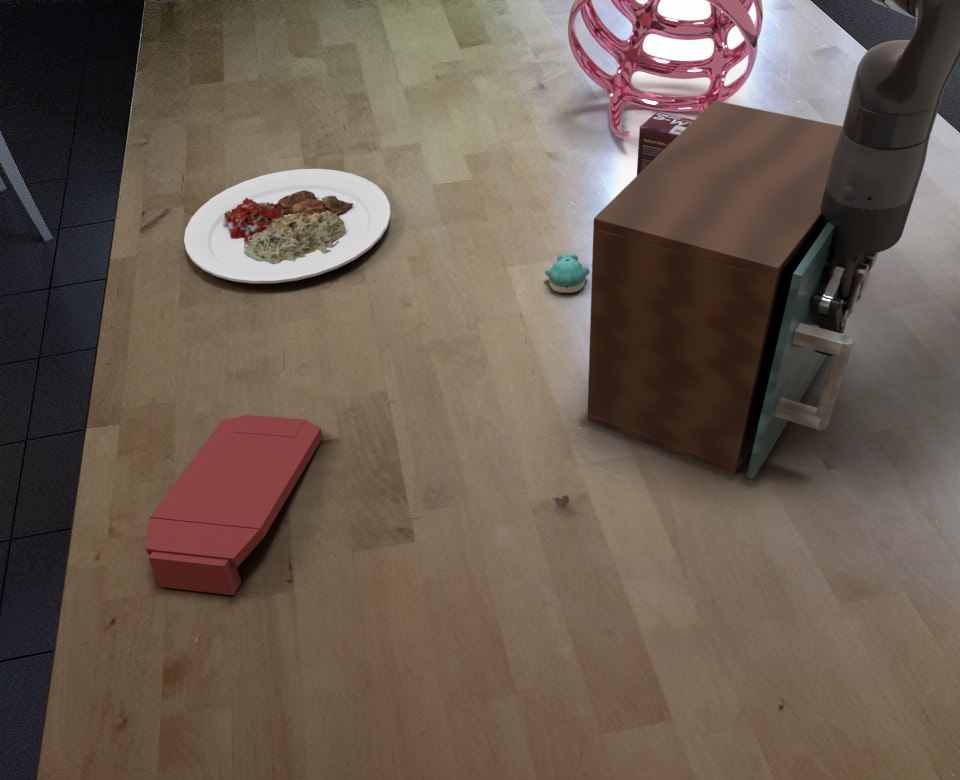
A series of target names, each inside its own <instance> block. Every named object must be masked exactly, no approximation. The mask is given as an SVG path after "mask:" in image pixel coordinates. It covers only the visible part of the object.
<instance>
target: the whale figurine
mask: <svg viewBox="0 0 960 780" xmlns="http://www.w3.org/2000/svg"><path fill="white" fill-rule="evenodd" d="M544 274H545V276H546V277H547V278H548V282H549V286H550V287H551V289H552V290H554V291H555V292H558V293H565V294H568V293H569V294H571V293H576V292H578V291H580V290H581V289H582V288H583V287H584V286H585V283H586V277H588V276H589V275H590V269H589V268H588V267H587V266H583V265H582V264H581V263H580V262H579V256H578V255H576V254H560V255H558V256H557V258H556V262H555V263H554V264H552V266H551V267H547V268H546V269H545V272H544Z"/></svg>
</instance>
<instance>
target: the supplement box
mask: <svg viewBox="0 0 960 780" xmlns="http://www.w3.org/2000/svg"><path fill="white" fill-rule="evenodd" d="M694 120H695V119H692V118H688V117H683V116H678V115H674V114H669V113H664V112H662V111H661V112H660V111H657V112H655V113H654V114H653V115H651V116H649V118H648V119H647V120H646V121H645V122H644V123H642V124H641V125H640V126H639V128H638V129H639V131H638V132H639V133H638V146H637V147H638V149H637V162H636V163H637V165H636V177H637V176H638V175H639V174H640V173H641V172H642V171H643V170H644V169H645V168H646V167H647V166H648V165H649V164H650V163H651V162H652V161H653V160H654V159H655V158H656V157H657V156H658V155H659V154H660V153H661V152H662V151H663V150H664V149H665V148H666V147H667V146H668V145H669V144H670V143H671V142H672V141H673V140H674V139H675V138H676V137H677V136H679V135H680V134H681V133H682V132H683V131H684V130H685V129H686V128H687V127H688V126H689V125H690V124H691V123H692V122H693V121H694Z"/></svg>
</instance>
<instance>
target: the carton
mask: <svg viewBox="0 0 960 780" xmlns="http://www.w3.org/2000/svg"><path fill="white" fill-rule="evenodd" d="M322 432H323V431H322V427H320V426H319V425H316V424H314V423H312V422H310V421H309V420H306V419H303V418H290V417H280V416H279V417H278V416H266V415H255V414H254V415H252V414H245V415H244V414H243V415H240V416H235V417H230V418H224V419H222V420H221V421H220V422H219V424H218V425H217V426H216V428H214V430H213V432H212V434H210V435H209V437H208V438H207V439H206V441H205V442H204V444H203V445H202V446H201V448H200V449H199V451H197V453H196V455H195V456H194V457H193V459H191V461H190V463H188V465H187V466H186V468H185V469H184V471H183V472H182V473H181V474H180V476H179V477H178V479H177V480H176V482H174V484H173V485H172V486H171V488H170V489H169V491H167V493H166V495H165V496H164V497H163V499H162V500H161V501H160V503H159V504H158V505H157V506H156V508H155V509H154V510H153V512H152V514H151V515H150V516H149V518H148V524H147V533H146V541H145V550H146V553H147V554H148V557H147V558H148V560H149V563H150V565H151V568H152V570H153V573H154V576H155V578H156V580H157V583H158V586H159V587H160V588H168V589H175V590H185V591H193V592H201V593H210V594H217V595H226V596H227V595H228V596H235V594H236V593H237V590H238V589H239V587H240V586H241V584H242V579H241V577H240V575H239V574H240V573H239V570H238V567H240V565H241V564H242V563H243V562H244V560H245V559H247V557H248V556H249V555H250V554H251V553H252V551H253V550H255V548H256V547H257V546H258V545H259V544H260V543H261V541H262V540H263V539H264V538H265V536H266V535H267V534H268V532H269V530H270V528H271V526H272V525H273V523H274V521H275V519H276V518H277V516H278V514H279V512H280V511H281V509H282V508H283V506H284V505H285V503H286V501H287V499H288V497H289V496H290V494H291V493H292V491H293V489H294V488H295V486H296V484H297V482H298V480H299V479H300V477H301V475H302V473H303V472H304V470H305V469H306V467H307V465H308V463H309V462H310V460H311V458H312V457H313V455H314V454H315V452H316V451H317V448H318V447H319V445H320V443H321V441H322V440H323V438H324V437H323V433H322Z"/></svg>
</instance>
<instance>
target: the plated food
mask: <svg viewBox="0 0 960 780" xmlns="http://www.w3.org/2000/svg"><path fill="white" fill-rule="evenodd" d="M391 217H392V216H391V205H390V201H389V199H388V197H387V195H386V194H385V192H384V190H382V189H381V188H380V187H379V186H378V185H377V184H376V183H374V182H372V181H371V180H369V179H367V178H366V177H362V176H359V175H357V174H354V173H350V172H345V171H341V170H336V169H325V168H324V169H323V168H299V169H290V170H285V171H284V170H283V171H277V172H272V173H267V174H264V175H260V176H257V177H254V178H250V179H248V180H244V181H242V182H240V183H238V184H235V185H233V186H231V187H228V188H226V189H224V190H223V191H221V192H220V193H217V194H216V195H215V196H213V197H211V198H210V199H209V200H208V201H207V202H205V203H204V204H203V205H202V206H201V207H199V208H198V210H197V211H196V212H195V213H194V214H193V216H191V219H190V220H189V221H188V224H187V226H186V227H185V231H184V237H183V241H184V246H185V247H184V248H185V251H186V253H187V255H188V256H189V258H190V260H191V261H192V262H193V263H194V264H195V265H196V266H197V267H199V268H200V269H201V270H202V271H204V272H206V273H209V274H210V275H212V276H214V277H217V278H221V279H224V280H226V281H231V282H237V283H245V284H246V283H247V284H279V283H288V282H295V281H300V280H304V279H308V278H312V277H317V276H320V275H322V274H326V273H328V272H331V271H334V270H336V269H339V268H341V267H343V266H345V265H347V264H349V263H352V262H353V261H355V260H356V259H358V258H359V257H361V256H362V255H364V254H365V253H366V252H368V251H369V250H370V249H372V248H373V246H374V245H375V244H376V243H378V242H379V241H380V240H381V238H383V235H384V234H385V232H386V231H387V229H388V227H389V224H390V220H391Z"/></svg>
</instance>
